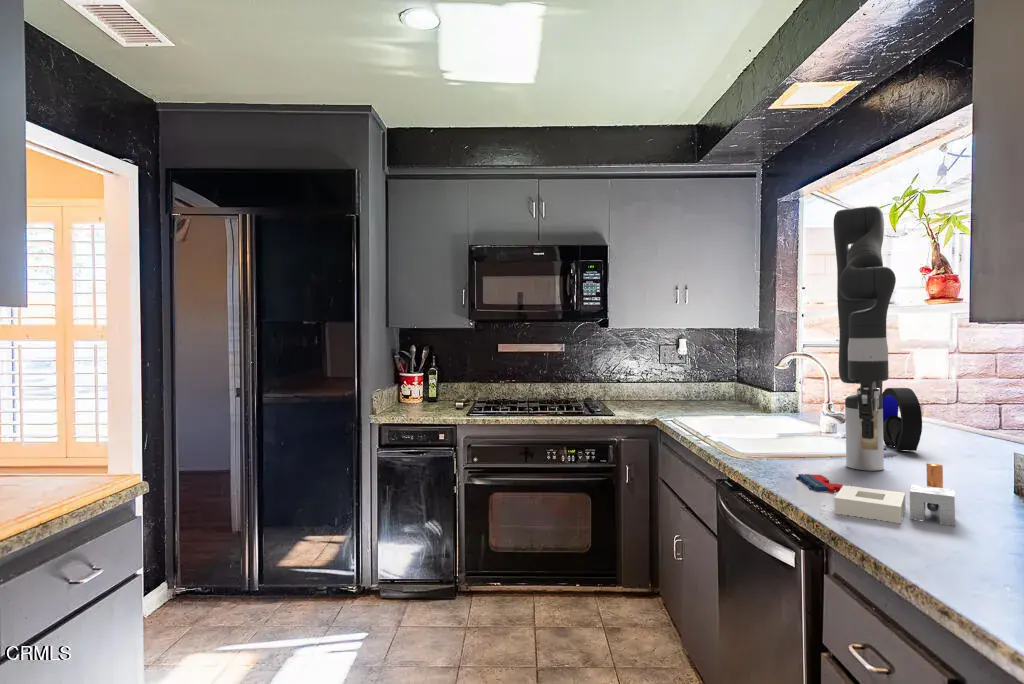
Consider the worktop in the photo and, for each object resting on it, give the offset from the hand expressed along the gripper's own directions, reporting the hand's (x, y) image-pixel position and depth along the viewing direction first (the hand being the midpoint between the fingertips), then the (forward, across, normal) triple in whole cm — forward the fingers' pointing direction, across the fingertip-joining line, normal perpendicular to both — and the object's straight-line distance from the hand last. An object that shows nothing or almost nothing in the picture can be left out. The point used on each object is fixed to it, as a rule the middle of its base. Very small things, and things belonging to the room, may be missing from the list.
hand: (869, 436), depth 125 cm
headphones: (+17, +77, 0) cm, 79 cm away
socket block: (+16, 0, 0) cm, 16 cm away
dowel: (+3, 0, 0) cm, 3 cm away
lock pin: (+16, +10, -11) cm, 22 cm away
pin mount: (+16, +1, -11) cm, 20 cm away
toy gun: (+17, +18, +12) cm, 28 cm away
